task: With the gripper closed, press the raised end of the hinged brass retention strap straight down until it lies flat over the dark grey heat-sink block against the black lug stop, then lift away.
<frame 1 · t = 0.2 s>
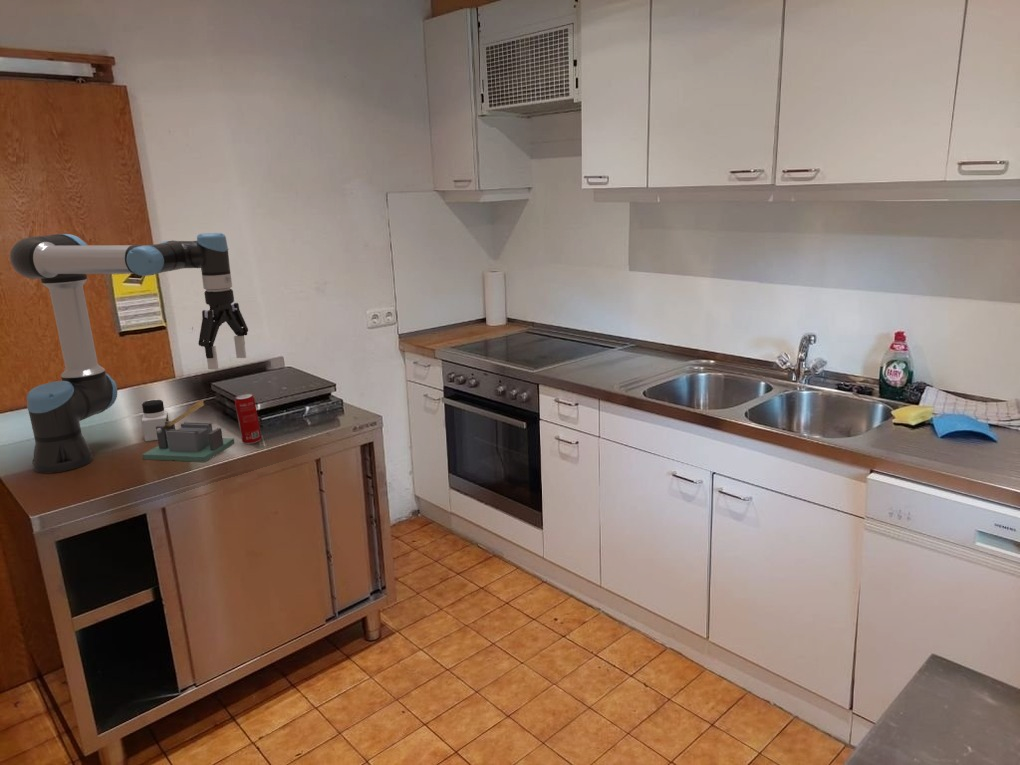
hand: (227, 363, 213), 28 cm above the counter, fingers open, 13 cm apart
medicine bottle: (158, 437, 238), on the counter
board: (189, 450, 224), on the counter
beverage can: (251, 442, 231), on the counter
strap: (181, 415, 222), point 11 cm above the counter, hinge at 30.0°
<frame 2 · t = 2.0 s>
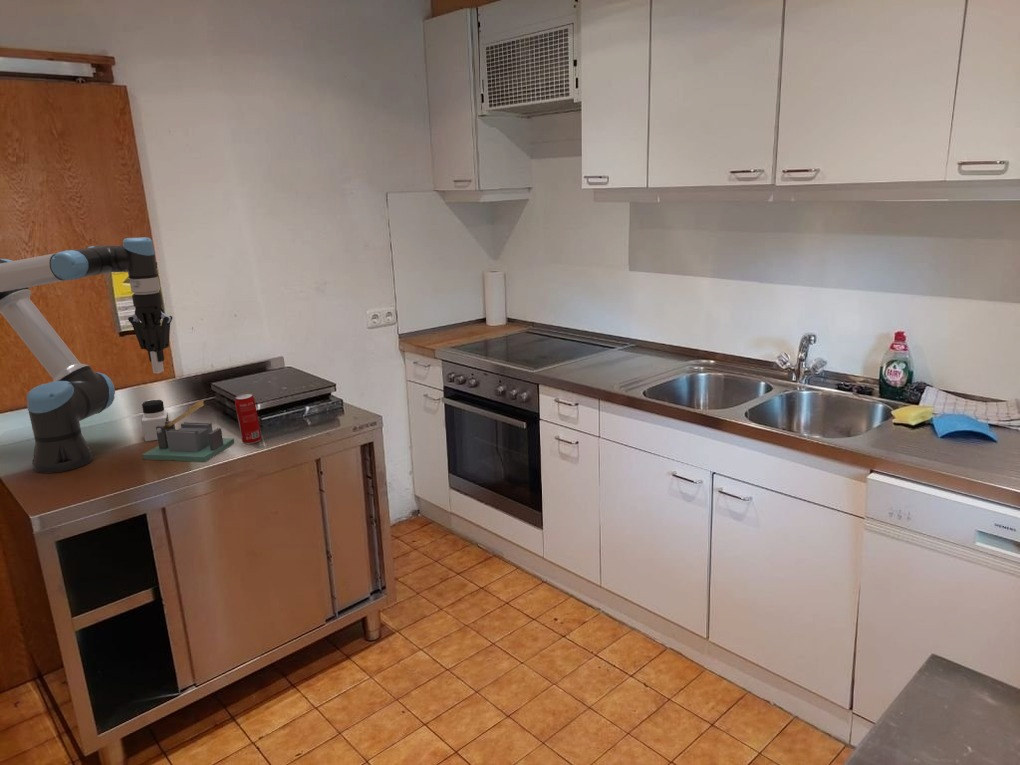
hand: (158, 372, 219), 24 cm above the counter, fingers closed
nothing on the counter moved.
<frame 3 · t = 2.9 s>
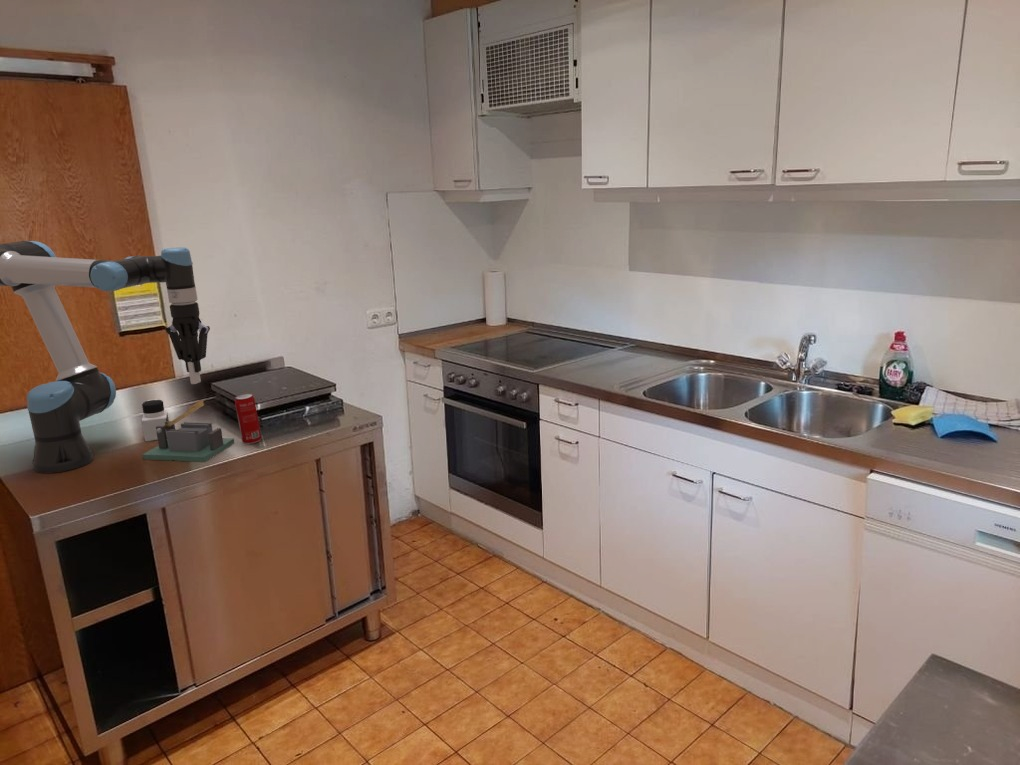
hand: (195, 382, 218), 21 cm above the counter, fingers closed
nothing on the counter moved.
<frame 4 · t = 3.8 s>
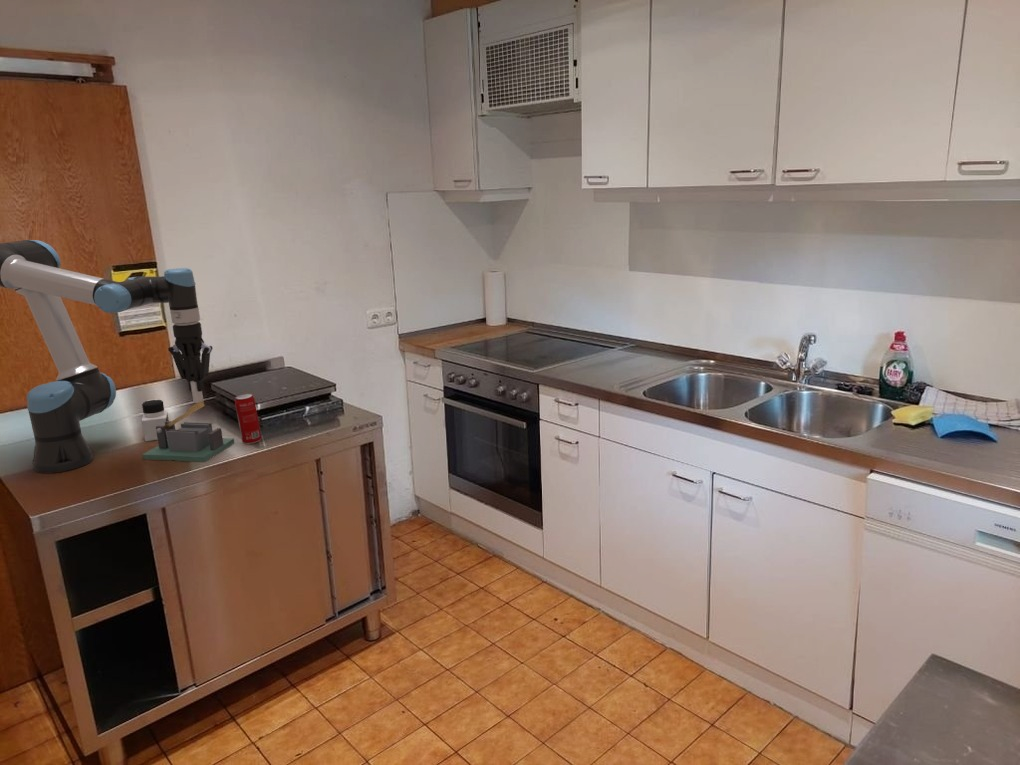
hand: (198, 401, 219), 16 cm above the counter, fingers closed
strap: (182, 416, 222), point 11 cm above the counter, hinge at 29.0°, touching gripper
everything else where it was.
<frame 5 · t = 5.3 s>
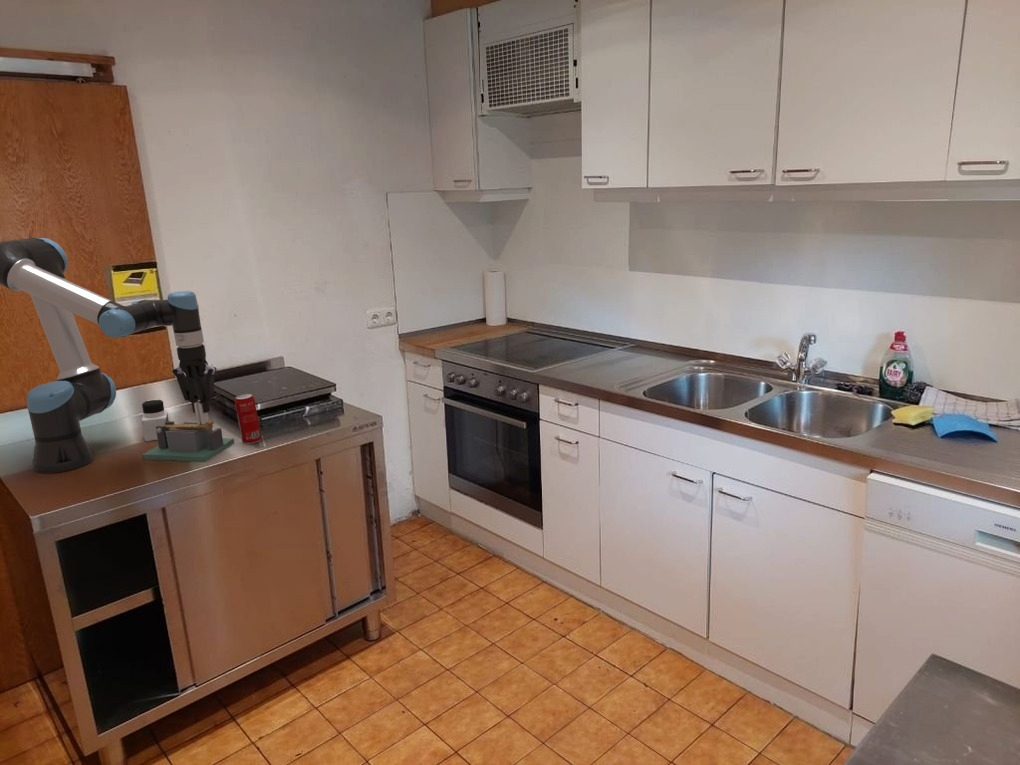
hand: (203, 422, 221), 9 cm above the counter, fingers closed, pressing on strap
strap: (186, 426, 222), point 8 cm above the counter, hinge at 2.6°, touching gripper
everything else where it was.
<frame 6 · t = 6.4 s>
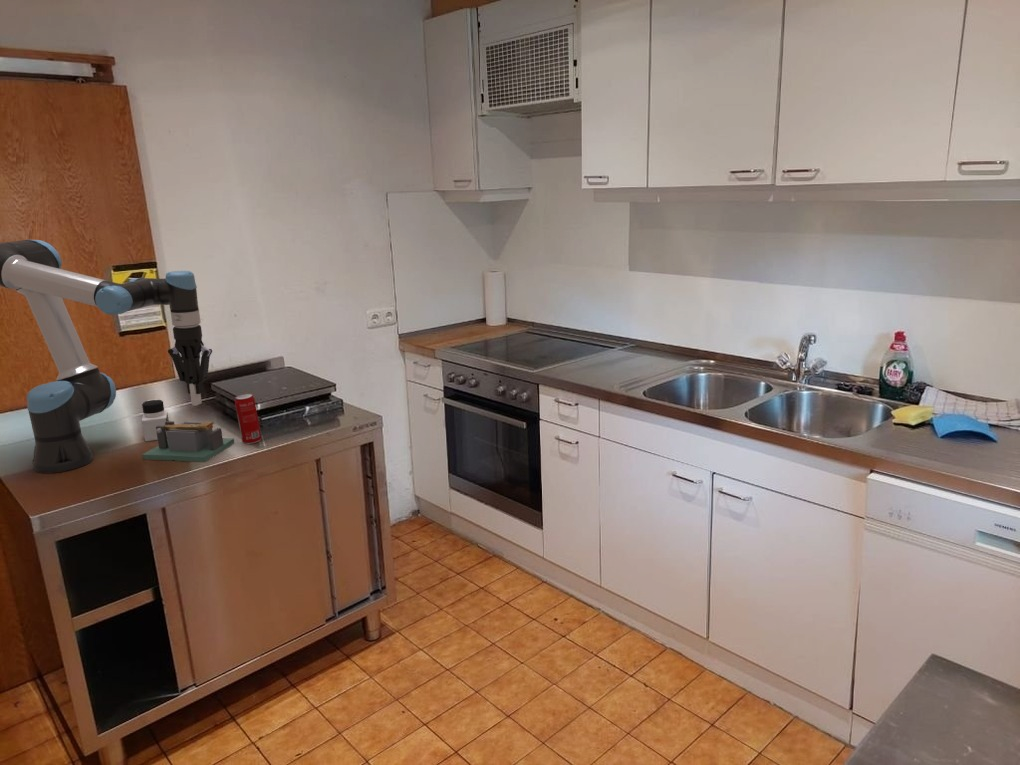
hand: (196, 404, 220), 15 cm above the counter, fingers closed
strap: (186, 426, 222), point 8 cm above the counter, hinge at 2.1°
everything else where it was.
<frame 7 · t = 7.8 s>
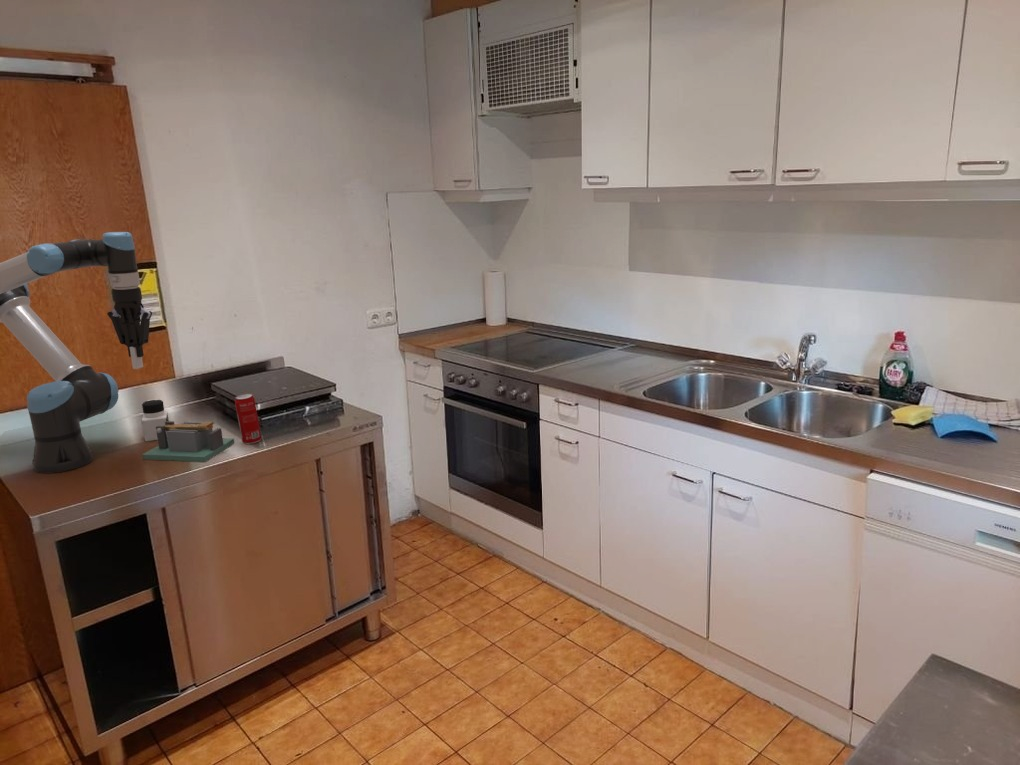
hand: (138, 367, 218), 26 cm above the counter, fingers closed
nothing on the counter moved.
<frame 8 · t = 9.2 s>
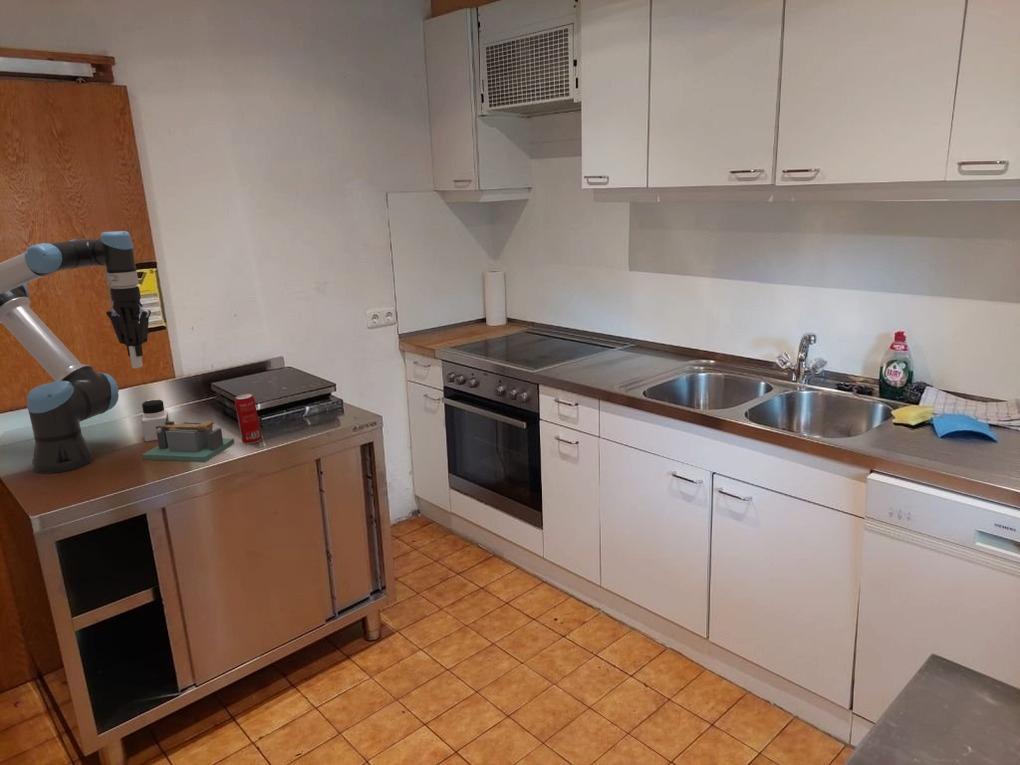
hand: (137, 367, 218), 26 cm above the counter, fingers closed
nothing on the counter moved.
at the end: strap at +2° (first picture: +30°); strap touching nothing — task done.
